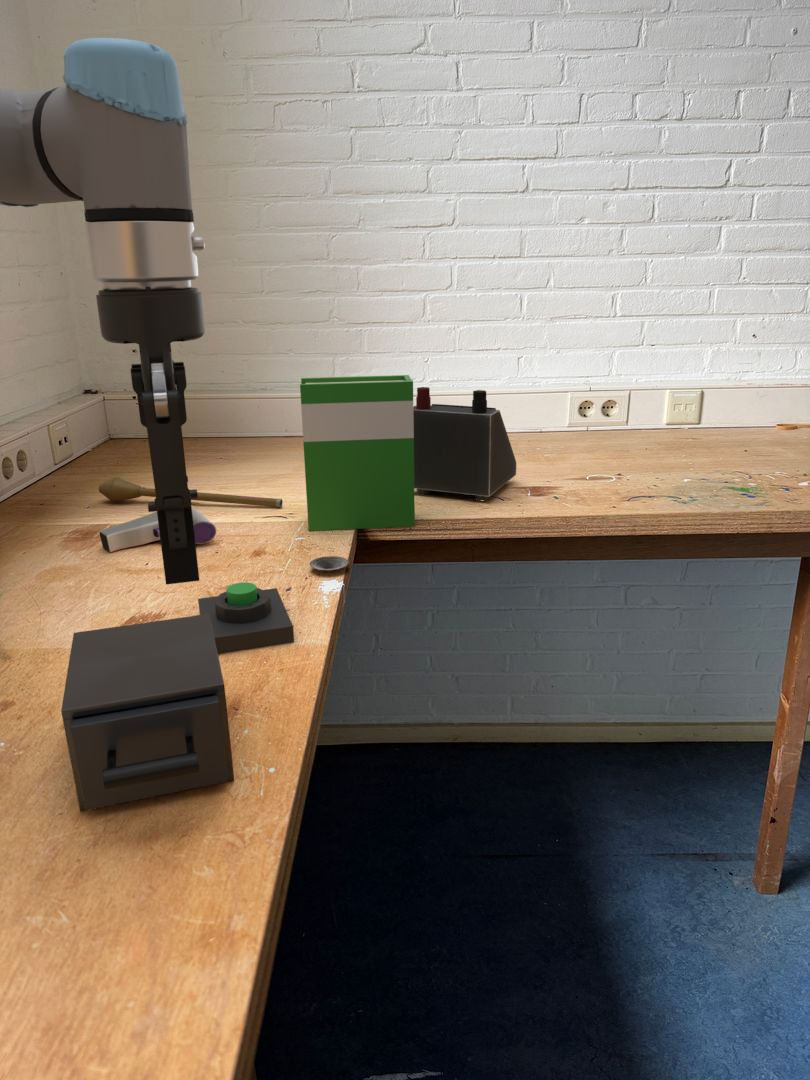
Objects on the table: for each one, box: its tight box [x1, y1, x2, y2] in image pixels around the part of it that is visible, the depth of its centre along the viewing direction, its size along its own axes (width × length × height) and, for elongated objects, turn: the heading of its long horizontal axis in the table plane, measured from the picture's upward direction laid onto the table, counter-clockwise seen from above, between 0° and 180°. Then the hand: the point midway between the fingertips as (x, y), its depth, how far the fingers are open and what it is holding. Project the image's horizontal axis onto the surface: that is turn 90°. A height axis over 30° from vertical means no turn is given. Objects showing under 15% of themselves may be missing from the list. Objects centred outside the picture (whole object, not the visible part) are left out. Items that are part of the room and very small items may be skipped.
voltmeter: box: [413, 386, 517, 501], centre depth 151 cm, size 16×16×20 cm
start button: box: [225, 581, 258, 606], centre depth 96 cm, size 4×4×2 cm
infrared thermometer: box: [99, 507, 217, 553], centre depth 126 cm, size 5×12×15 cm
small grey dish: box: [309, 555, 350, 573], centre depth 115 cm, size 6×6×1 cm
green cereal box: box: [299, 374, 416, 532], centre depth 132 cm, size 18×7×24 cm, turn 95°
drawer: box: [70, 695, 228, 811], centre depth 69 cm, size 18×11×8 cm, turn 18°
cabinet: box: [60, 614, 235, 812], centre depth 72 cm, size 15×13×10 cm
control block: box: [197, 587, 295, 655], centre depth 97 cm, size 12×10×4 cm
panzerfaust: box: [98, 476, 283, 508], centre depth 147 cm, size 5×35×5 cm
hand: (182, 579), depth 67 cm, fingers closed
